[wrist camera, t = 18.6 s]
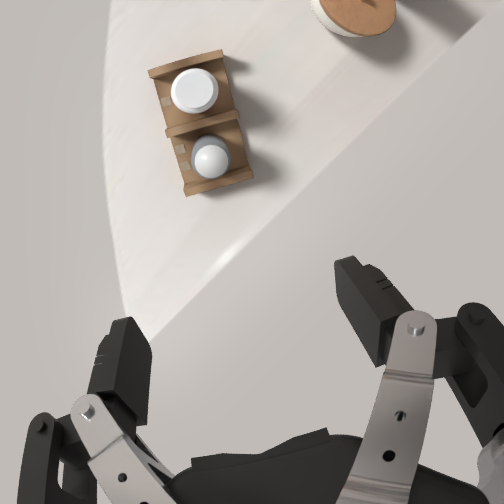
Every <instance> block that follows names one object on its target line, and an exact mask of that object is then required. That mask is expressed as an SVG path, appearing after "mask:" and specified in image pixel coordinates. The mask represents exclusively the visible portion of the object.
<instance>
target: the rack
mask: <svg viewBox="0 0 504 504" xmlns="http://www.w3.org/2000/svg"><path fill="white" fill-rule="evenodd" d="M223 57H224V55H223V51H222V49H221V50H217V51H212V52H208V53H204V54H200V55H197V56H193V57H189V58H186V59H182V60H179V61H175V62H172V63H169V64H166V65H162V66H159V67H156V68H153V69H150V70H148V73H149V77H150V78H152V79H154V83H155V87H156V90H157V94H158V97H159V101H160V104H161V108H162V111H163V115H164V118H165V121H166V125H167V129H166V130H165V133H166V136H167V138H169V137H170V138H171V142H172V145H173V148H174V151H175V155H176V158H177V161H178V164H179V168H180V171H181V174H182V177H183V180H184V183H185V184H184V193H185V196H186V197H188V196H191V195H194V194H198V193H201V192H205V191H208V190H211V189H215V188H218V187H222V186H226V185H229V184H233V183H236V182H240V181H244V180H248V179H251V178H254V176H253V172H252V169H251V168H250V166H249V164H248V160H247V156H246V152H245V148H244V144H243V140H242V136H241V132H240V128H239V124H238V120H237V118H239V114H238V110H236V109H235V108H234V104H233V100H232V96H231V92H230V88H229V84H228V80H227V76H226V72H225V68H224V65H223V61H222V59H223ZM195 68H196V69H203V70H206V71H208V72H209V73H211V74H212V75H213V76H214V78H215V79H216V81H217V83H218V96H217V99H216V101H215V103H214V104H213V105H212V106H211V107H210V108H209V109H207V110H206V111H204V112H201V113H195V114H192V113H186V112H184V111H182V110H180V109H179V108H178V107H177V106H176V105H175V104H174V102H173V100H172V97H171V88H172V84H173V82H174V80H175V79H176V77H177V76H178V75H179V74H180V73H182V72H184V71H186V70H189V69H195ZM207 133H213V134H216V135H218V136H220V137H221V138H222V139H223V141H224V142H225V144H226V146H227V148H228V150H229V152H230V155H231V164H230V167H229V169H228V170H227V172H226V173H225V174H224V175H222V176H221V177H218V178H215V179H206V178H203V177H201V176H199V175H198V174H197V173H196V172H195V171H194V169H193V167H192V164H191V157H192V149H193V144H194V142H195V141H196V139H197V138H198V137H200V136H201V135H203V134H207Z"/></svg>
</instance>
